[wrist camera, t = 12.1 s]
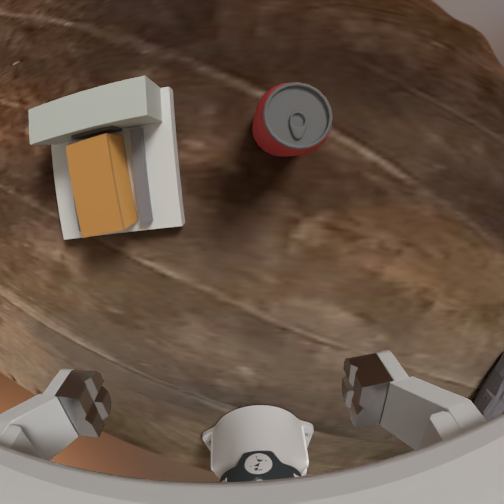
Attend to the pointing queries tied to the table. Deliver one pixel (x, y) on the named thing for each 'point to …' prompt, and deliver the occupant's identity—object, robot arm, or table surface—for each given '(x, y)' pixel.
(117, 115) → the white l-shaped stand
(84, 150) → the cardboard box
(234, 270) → the table surface
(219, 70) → the table surface
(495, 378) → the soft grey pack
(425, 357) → the table surface
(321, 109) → the beer can
